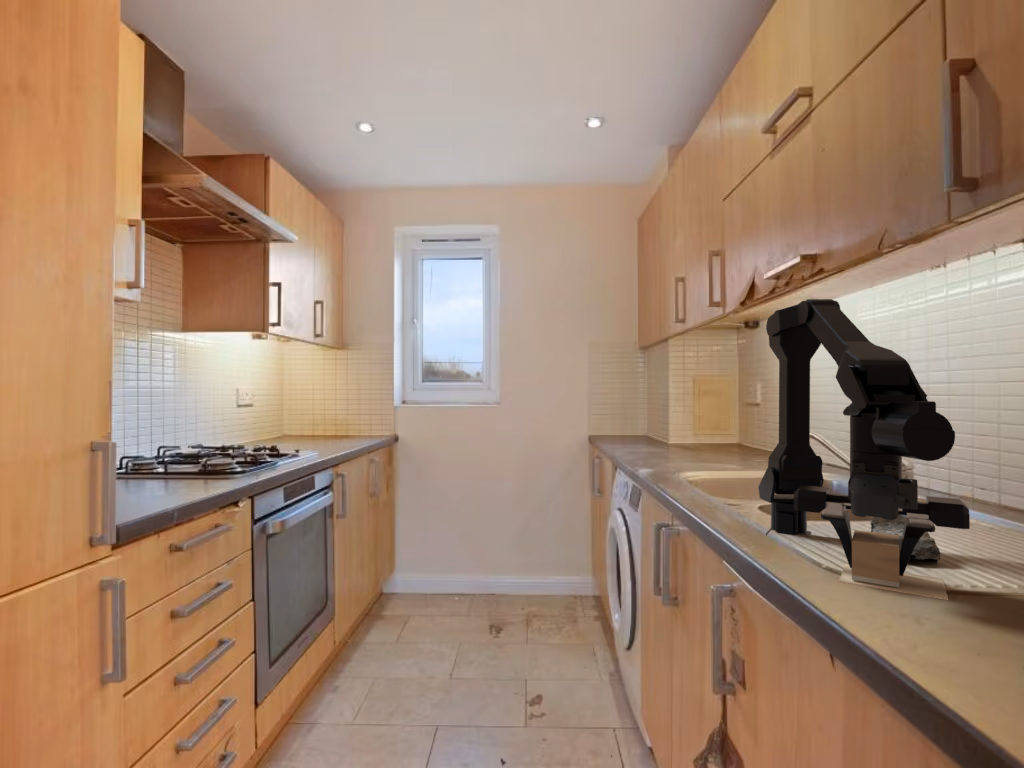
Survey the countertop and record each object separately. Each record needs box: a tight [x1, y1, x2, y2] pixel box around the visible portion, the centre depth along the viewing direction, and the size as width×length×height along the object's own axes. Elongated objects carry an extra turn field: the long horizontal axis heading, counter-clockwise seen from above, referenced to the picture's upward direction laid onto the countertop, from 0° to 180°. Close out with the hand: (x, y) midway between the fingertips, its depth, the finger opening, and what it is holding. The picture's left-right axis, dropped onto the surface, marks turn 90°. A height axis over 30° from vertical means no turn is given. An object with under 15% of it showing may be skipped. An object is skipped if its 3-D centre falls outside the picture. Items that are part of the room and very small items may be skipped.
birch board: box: [839, 563, 949, 601], centre depth 72 cm, size 9×11×1 cm
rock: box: [870, 516, 941, 563], centre depth 85 cm, size 13×9×6 cm, turn 159°
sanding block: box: [852, 529, 900, 587], centre depth 73 cm, size 7×5×5 cm
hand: (875, 571), depth 73 cm, fingers closed on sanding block, 5 cm apart
